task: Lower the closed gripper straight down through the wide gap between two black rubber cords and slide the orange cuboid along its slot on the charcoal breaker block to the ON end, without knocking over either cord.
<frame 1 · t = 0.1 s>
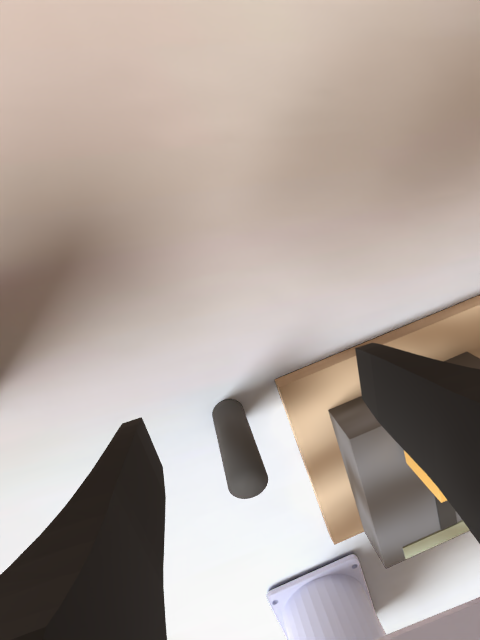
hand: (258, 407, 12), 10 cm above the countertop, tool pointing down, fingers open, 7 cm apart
orange cuboid: (456, 453, 21), point 6 cm above the countertop, slide at 0.0 cm
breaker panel: (400, 423, 27), on the countertop
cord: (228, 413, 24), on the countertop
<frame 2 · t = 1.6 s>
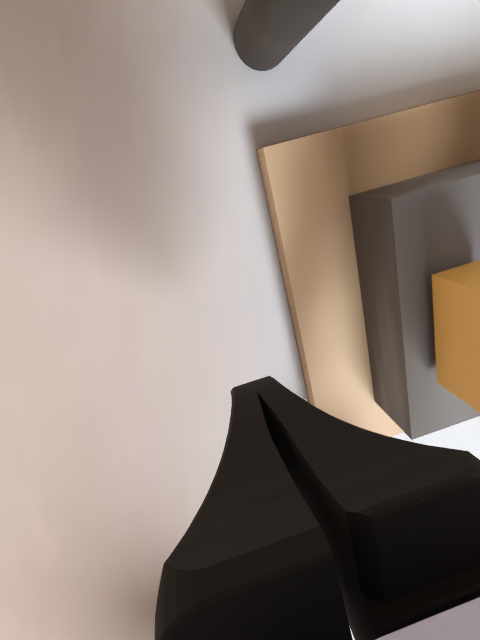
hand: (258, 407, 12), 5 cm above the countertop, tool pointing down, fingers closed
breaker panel: (438, 276, 18), on the countertop
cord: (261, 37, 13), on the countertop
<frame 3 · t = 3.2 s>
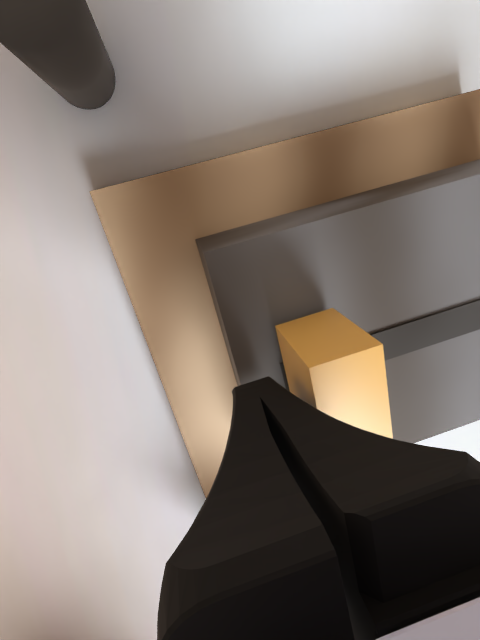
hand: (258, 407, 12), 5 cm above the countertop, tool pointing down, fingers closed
orange cuboid: (333, 396, 12), point 6 cm above the countertop, slide at 0.6 cm, touching gripper
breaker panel: (318, 315, 17), on the countertop
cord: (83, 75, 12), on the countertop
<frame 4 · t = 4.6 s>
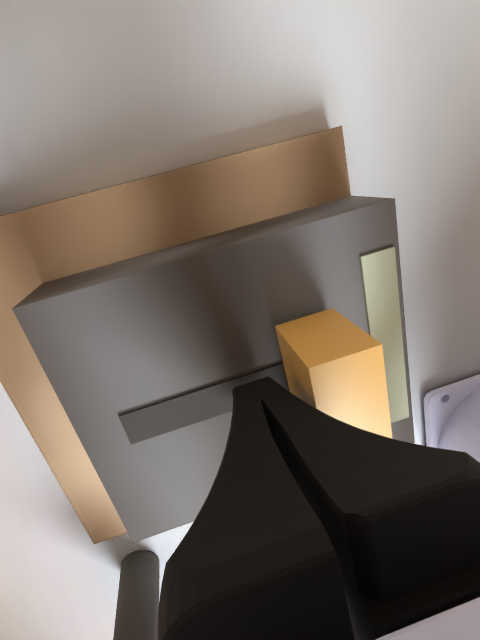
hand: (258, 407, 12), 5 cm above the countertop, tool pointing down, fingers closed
orange cuboid: (333, 396, 12), point 6 cm above the countertop, slide at 6.3 cm, touching gripper
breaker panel: (199, 353, 17), on the countertop
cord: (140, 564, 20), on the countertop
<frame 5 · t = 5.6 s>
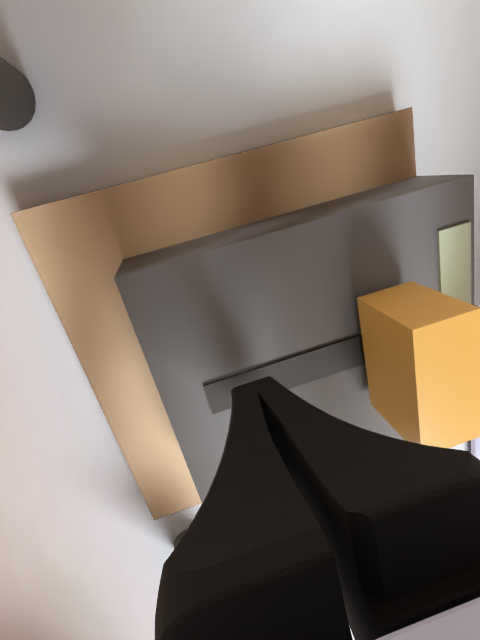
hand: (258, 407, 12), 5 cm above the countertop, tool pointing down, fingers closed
orange cuboid: (416, 364, 12), point 6 cm above the countertop, slide at 6.3 cm
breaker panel: (260, 332, 17), on the countertop
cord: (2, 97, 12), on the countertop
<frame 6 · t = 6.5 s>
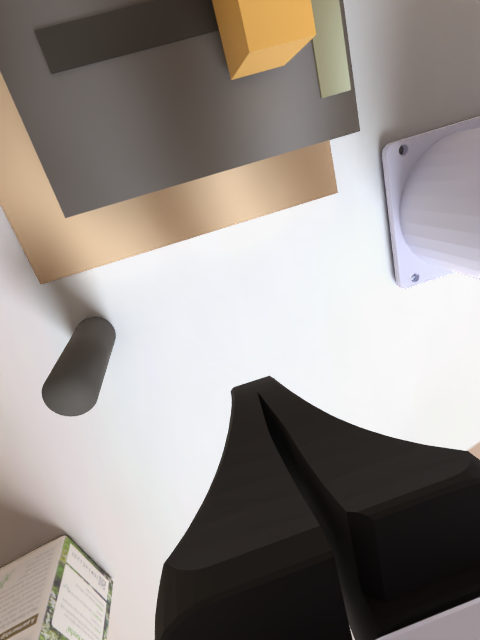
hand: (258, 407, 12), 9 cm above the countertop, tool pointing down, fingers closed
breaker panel: (139, 65, 16), on the countertop
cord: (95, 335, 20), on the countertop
syrup box: (56, 573, 25), on the countertop
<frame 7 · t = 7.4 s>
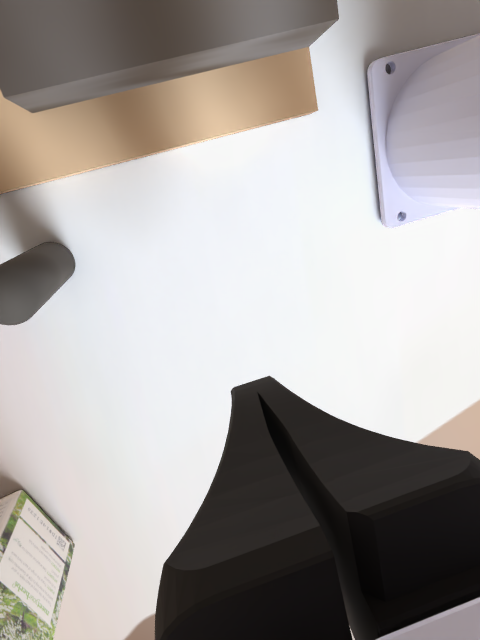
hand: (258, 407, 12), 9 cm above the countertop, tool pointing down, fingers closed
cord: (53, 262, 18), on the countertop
syrup box: (12, 532, 23), on the countertop
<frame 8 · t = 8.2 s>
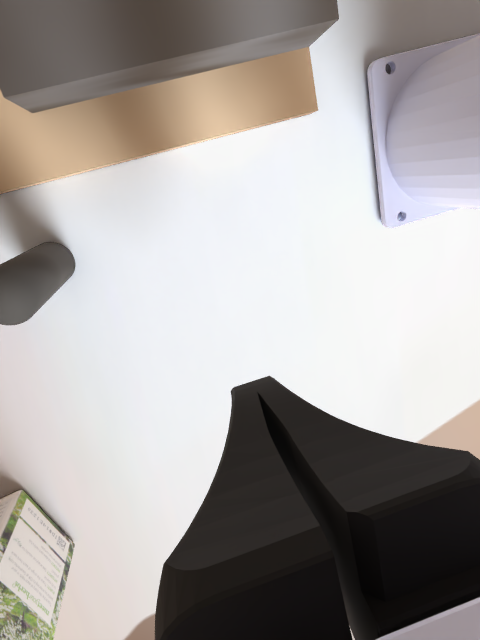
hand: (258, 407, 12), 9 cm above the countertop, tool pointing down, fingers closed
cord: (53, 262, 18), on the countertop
syrup box: (12, 532, 23), on the countertop
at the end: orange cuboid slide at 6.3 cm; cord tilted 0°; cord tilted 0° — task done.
